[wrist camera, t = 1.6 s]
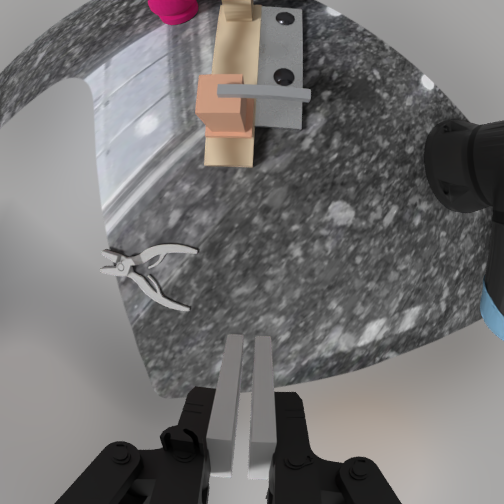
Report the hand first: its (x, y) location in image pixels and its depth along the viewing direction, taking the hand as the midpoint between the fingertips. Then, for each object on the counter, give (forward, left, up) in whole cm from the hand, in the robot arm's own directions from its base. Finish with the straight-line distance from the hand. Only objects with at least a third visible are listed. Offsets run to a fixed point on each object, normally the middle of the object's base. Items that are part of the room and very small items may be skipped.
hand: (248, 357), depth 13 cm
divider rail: (+1, -24, -24) cm, 34 cm away
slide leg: (+1, -17, -22) cm, 28 cm away
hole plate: (-2, -27, -24) cm, 36 cm away
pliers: (+16, +4, -25) cm, 30 cm away
